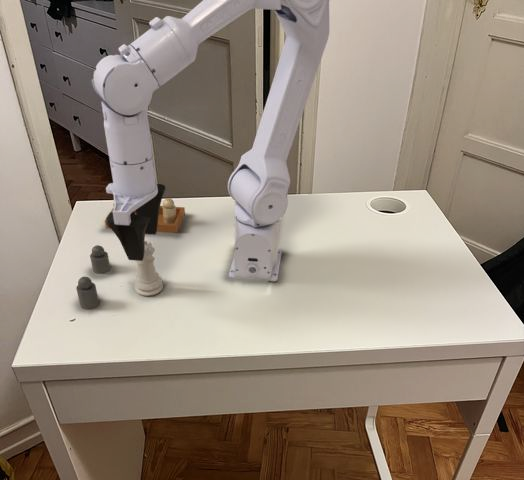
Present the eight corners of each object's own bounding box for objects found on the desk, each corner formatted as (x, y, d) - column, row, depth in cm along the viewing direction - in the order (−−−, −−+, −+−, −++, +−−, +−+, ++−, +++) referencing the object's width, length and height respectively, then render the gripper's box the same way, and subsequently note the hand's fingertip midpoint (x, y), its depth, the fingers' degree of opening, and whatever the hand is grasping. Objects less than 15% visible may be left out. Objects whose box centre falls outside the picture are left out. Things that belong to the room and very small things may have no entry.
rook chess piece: (167, 293, 89) (162, 248, 84) (140, 300, 88) (133, 255, 82) (158, 278, 92) (152, 235, 87) (131, 285, 91) (124, 241, 85)
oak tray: (177, 235, 103) (176, 225, 102) (106, 230, 104) (104, 220, 103) (185, 216, 108) (184, 207, 107) (118, 212, 109) (116, 202, 108)
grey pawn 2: (107, 276, 92) (102, 251, 89) (91, 275, 93) (85, 250, 89) (113, 267, 94) (108, 242, 91) (96, 266, 95) (91, 241, 92)
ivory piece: (175, 226, 105) (173, 202, 101) (162, 225, 105) (160, 201, 102) (178, 220, 106) (176, 196, 103) (165, 219, 106) (163, 195, 103)
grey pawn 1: (95, 310, 86) (89, 283, 82) (77, 308, 86) (71, 282, 83) (101, 299, 88) (96, 273, 84) (84, 298, 88) (78, 271, 85)
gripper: (118, 135, 82) (130, 220, 90) (83, 177, 71) (101, 269, 79) (166, 138, 81) (173, 223, 90) (138, 180, 70) (150, 273, 79)
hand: (143, 245), depth 85 cm, fingers open, 7 cm apart
